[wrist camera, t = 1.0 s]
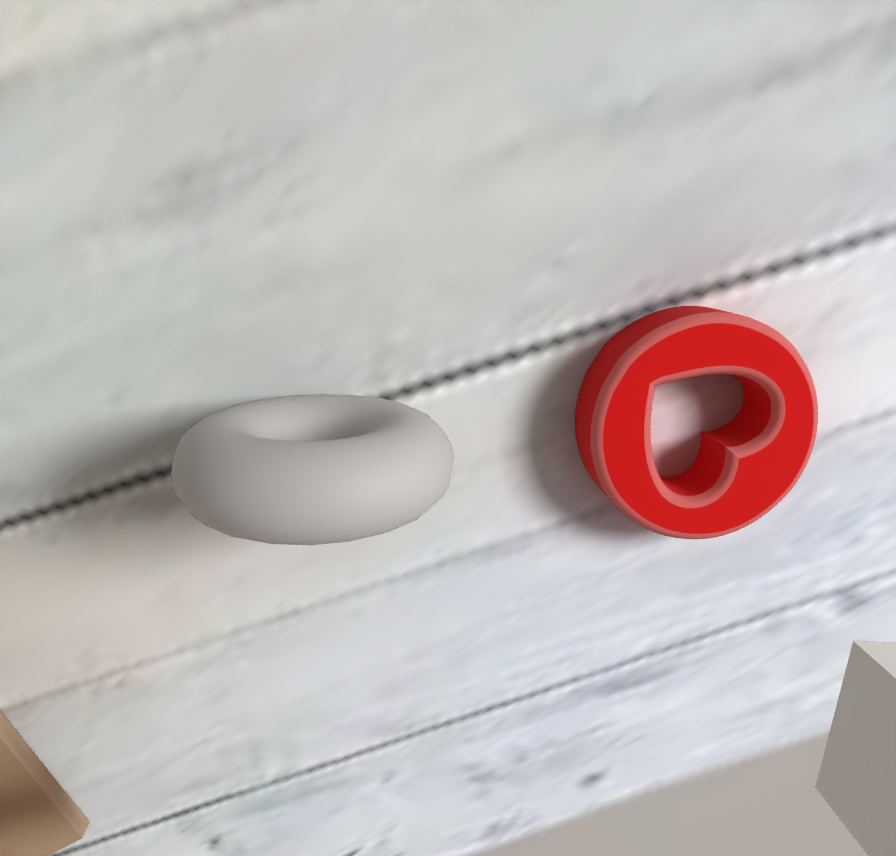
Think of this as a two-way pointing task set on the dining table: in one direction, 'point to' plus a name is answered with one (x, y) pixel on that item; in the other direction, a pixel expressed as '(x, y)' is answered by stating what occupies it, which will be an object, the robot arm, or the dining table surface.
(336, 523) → the donut
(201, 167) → the dining table surface
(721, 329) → the decorative ornament
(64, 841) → the jig
